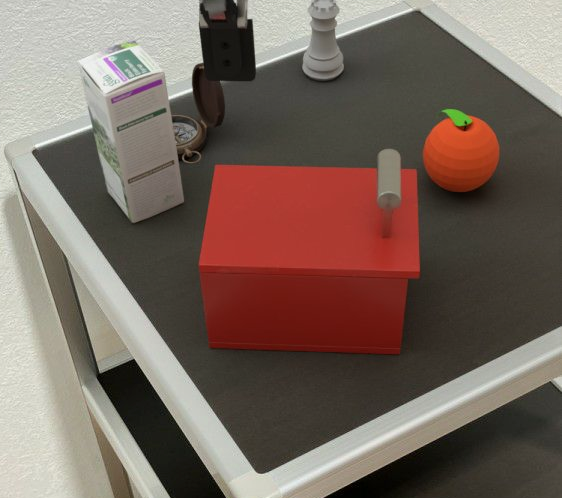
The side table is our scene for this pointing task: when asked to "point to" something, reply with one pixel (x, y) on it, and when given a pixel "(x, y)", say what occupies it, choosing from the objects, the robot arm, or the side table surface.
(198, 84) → the compass
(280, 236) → the red box lid
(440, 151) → the clementine
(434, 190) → the side table surface
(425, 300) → the side table surface
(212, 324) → the red box
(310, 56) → the rook chess piece
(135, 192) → the syrup box
